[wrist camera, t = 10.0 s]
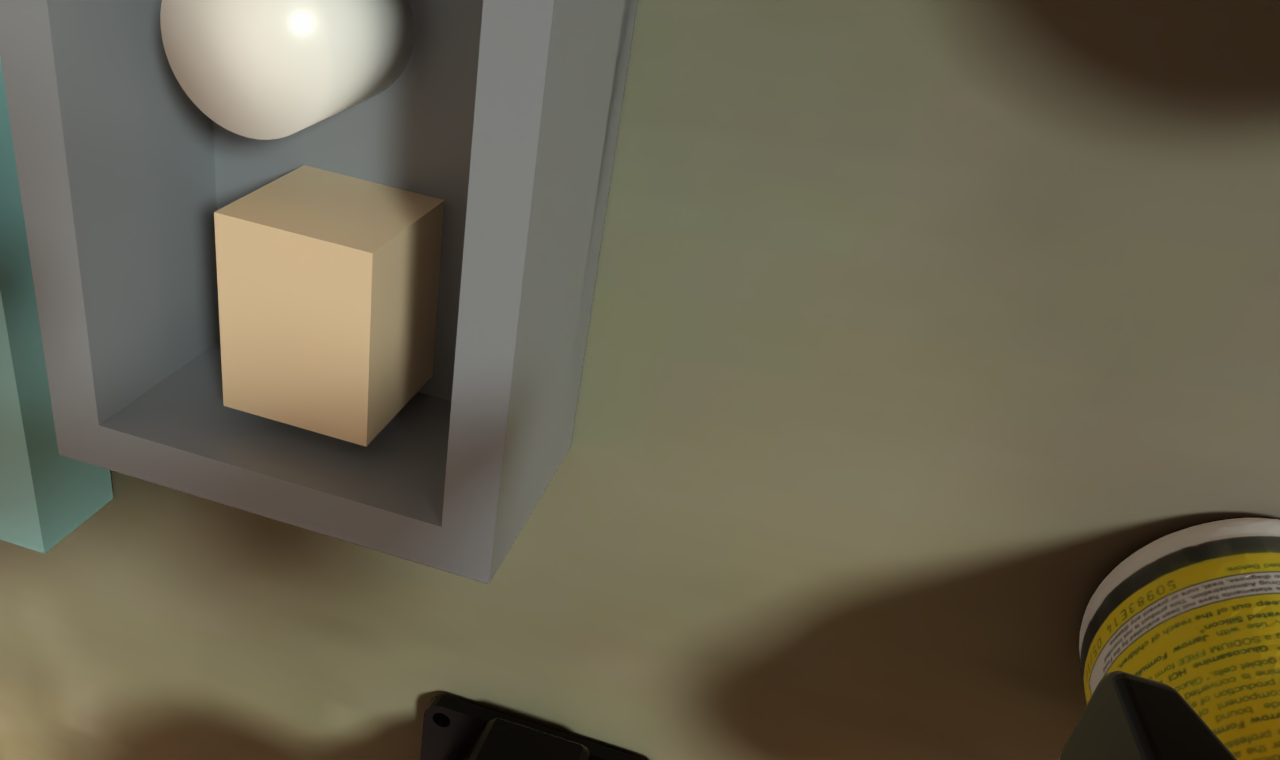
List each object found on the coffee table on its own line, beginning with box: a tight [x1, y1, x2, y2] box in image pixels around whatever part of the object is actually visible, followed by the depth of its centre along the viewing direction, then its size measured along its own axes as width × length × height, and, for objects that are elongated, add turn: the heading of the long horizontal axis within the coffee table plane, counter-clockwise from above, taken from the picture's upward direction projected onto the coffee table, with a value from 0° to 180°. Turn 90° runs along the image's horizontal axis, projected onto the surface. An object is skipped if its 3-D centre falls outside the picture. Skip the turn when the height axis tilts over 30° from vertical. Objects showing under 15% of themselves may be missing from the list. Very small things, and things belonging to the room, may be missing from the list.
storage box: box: [0, 0, 638, 584], centre depth 19 cm, size 12×9×5 cm
